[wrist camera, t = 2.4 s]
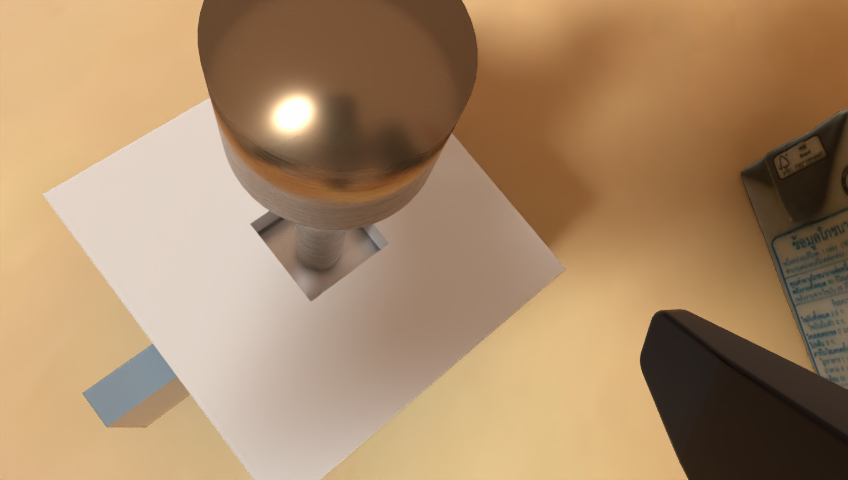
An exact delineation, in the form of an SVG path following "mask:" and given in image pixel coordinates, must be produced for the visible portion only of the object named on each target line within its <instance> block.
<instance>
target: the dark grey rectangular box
mask: <svg viewBox="0 0 848 480" xmlns="http://www.w3.org/2000/svg"><path fill="white" fill-rule="evenodd" d="M741 176H742V179H743V181H744V184H745V187H746V189H747V192H748V195H749V198H750V200H751V203H752V205H753V208H754V211H755V213H756V216H757V218H758V221H759V224H760V226H761V229H762V231H763V234H764V237H765V239H766V242H767V245H768V248H769V251H770V254H771V257H772V260H773V263H774V265H775V268H776V271H777V274H778V277H779V279H780V282H781V285H782V288H783V291H784V293H785V296H786V298H787V301H788V303H789V306H790V308H791V311H792V313H793V316H794V318H795V321H796V323H797V326H798V329H799V331H800V334H801V336H802V339H803V342H804V344H805V347H806V350H807V352H808V355H809V357H810V360H811V363H812V365H813V367H814V370H815V372H816V374H817V375H819V376H821V377H824V378H826V379H828V380H830V381H832V382H834V383H836V384H838V385H840V386H842V387H844V388H846V389H848V108H847V109H844V110H842V111H839V112H837V113H836V114H835V115H834V116H833V117H831V118H829V119H827V120H826V121H824V122H822V123H821V124H820V125H818V126H817V127H815V128H814V129H813V130H811V131H809V132H807V133H805V134H803V135H802V136H800V137H798V138H796V139H794V140H791V141H789V142H787V143H785V144H783V145H781V146H779V147H777V148H776V149H774V150H772V151H770V152H769V153H767V154H766V155H765V156H764V157H763V158H762V159H760V160H758V161H756V162H755V163H753V164H751V165H749V166H748V167H746V168H745V169H744V170H743V171H742V172H741Z"/></svg>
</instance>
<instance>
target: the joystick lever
mask: <svg viewBox="0 0 848 480" xmlns="http://www.w3.org/2000/svg"><path fill="white" fill-rule="evenodd" d="M198 49H199V55H200V61H201V65H202V69H203V73H204V77H205V80H206V84H207V88H208V92H209V95H210V99H211V103H212V107H213V110H214V114H215V118H216V122H217V125H218V129H219V133H220V137H221V140H222V144H223V148H224V151H225V154H226V157H227V160H228V163H229V165H230V167H231V169H232V171H233V173H234V175H235V176H236V178H237V179H238V181H239V182H240V184H241V185H242V187H243V188H244V189H245V190H246V191H247V192H248V193H249V194H250V195H251V197H253V198H254V199H255V200H256V201H257V202H258V203H260V204H261V205H262V206H263V207H265V208H266V209H268V210H269V211H271V212H272V213H274V214H275V215H277V216H279V217H280V218H278V219H277V220H275V221H274V222H272V223H271V224H269V225H268V226H267V227H265V228H264V229H262V230H261V231H259V232H258V235H259V236H260V237H261V238H262V240H263V241H264V242H265V244H266V245H267V246H268V247H269V249H270V250H271V251H272V253H273V254H274V255H275V256H276V258H277V259H278V260H279V262H280V263H281V264H282V265H283V267H284V268H285V269H286V270H287V272H288V273H289V274H290V276H291V277H292V278H293V279H294V281H295V282H296V283H297V285H298V286H299V287H300V288H301V290H302V291H303V292H304V294H305V295H306V296H307V297H308V299H309V300H310V301H312V300H314V299H315V298H316V297H318V296H319V295H321V294H322V293H323V292H325V291H326V290H327V289H329V288H330V287H331V286H333V285H334V284H335V283H337V282H338V281H339V280H341V279H342V278H343V277H345V276H346V275H347V274H349V273H350V272H352V271H353V270H354V269H356V268H357V267H358V266H360V265H361V264H362V263H364V262H365V261H366V260H368V259H369V258H370V257H372V256H373V255H374V254H376V253H377V252H378V251H380V248H379V247H378V246H377V245H376V243H375V242H374V241H373V240H372V238H371V237H370V236H369V235H368V233H367V232H366V231H365V230H364V228H363V227H365V226H368V225H371V224H374V223H377V222H379V221H381V220H384V219H386V218H388V217H390V216H391V215H393V214H395V213H396V212H398V211H399V210H401V209H402V208H403V207H404V206H406V205H407V204H408V203H409V202H410V201H411V200H412V199H413V198H414V197H415V196H416V195H417V194H418V193H419V191H420V190H421V188H422V187H423V185H424V184H425V183H426V181H427V179H428V177H429V175H430V173H431V171H432V170H433V168H434V166H435V164H436V162H437V160H438V158H439V156H440V154H441V152H442V150H443V148H444V146H445V145H446V143H447V141H448V139H449V137H450V135H451V133H452V131H453V129H454V127H455V125H456V123H457V121H458V120H459V118H460V116H461V114H462V112H463V110H464V108H465V106H466V104H467V102H468V100H469V98H470V95H471V92H472V89H473V86H474V83H475V78H476V72H477V44H476V37H475V32H474V29H473V25H472V22H471V19H470V17H469V14H468V12H467V10H466V7H465V5H464V4H463V2H462V0H204V2H203V5H202V9H201V12H200V17H199V24H198Z"/></svg>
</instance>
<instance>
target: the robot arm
mask: <svg viewBox="0 0 848 480" xmlns="http://www.w3.org/2000/svg"><path fill="white" fill-rule="evenodd" d="M640 365H641V370H642V373H643V375H644V378H645V380H646V383H647V385H648V388H649V390H650V393H651V395H652V397H653V400H654V402H655V405H656V407H657V410H658V412H659V414H660V417H661V419H662V422H663V424H664V427H665V429H666V432H667V434H668V436H669V439H670V441H671V444H672V446H673V448H674V451H675V453H676V455H677V457H678V460H679V462H680V464H681V466H682V468H683V470H684V472H685V474H686V476H687V478H688V480H848V389H846V388H844V387H842V386H840V385H838V384H836V383H834V382H832V381H830V380H828V379H826V378H824V377H821V376H819V375H817V374H815V373H813V372H811V371H809V370H807V369H805V368H803V367H801V366H799V365H797V364H795V363H793V362H791V361H789V360H787V359H785V358H783V357H781V356H779V355H777V354H775V353H772V352H770V351H768V350H766V349H764V348H762V347H760V346H758V345H756V344H754V343H752V342H750V341H748V340H746V339H744V338H742V337H740V336H738V335H736V334H734V333H732V332H730V331H728V330H726V329H724V328H721V327H719V326H717V325H715V324H713V323H711V322H709V321H707V320H705V319H703V318H701V317H699V316H697V315H695V314H693V313H691V312H689V311H686V310H682V309H677V310H660V311H658V312H656V313H655V314H654V316H653V317H652V320H651V323H650V326H649V329H648V332H647V335H646V338H645V342H644V345H643V348H642V351H641V355H640Z"/></svg>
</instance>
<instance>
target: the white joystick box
mask: <svg viewBox="0 0 848 480" xmlns="http://www.w3.org/2000/svg"><path fill="white" fill-rule="evenodd" d="M43 196H44V197H45V198H46V200H47V201H48V202H49V204H50V205H51V207H52V208H53V209H54V211H55V212H56V213H57V215H58V216H59V217H60V219H61V220H62V221H63V223H64V224H65V225H66V227H67V228H68V229H69V231H70V232H71V234H72V235H73V236H74V238H75V239H76V240H77V242H78V243H79V244H80V246H81V247H82V248H83V250H84V251H85V252H86V254H87V255H88V257H89V258H90V259H91V261H92V262H93V263H94V265H95V266H96V267H97V269H98V270H99V271H100V273H101V274H102V275H103V277H104V278H105V279H106V281H107V282H108V284H109V285H110V286H111V288H112V289H113V290H114V292H115V293H116V294H117V296H118V297H119V298H120V300H121V301H122V302H123V304H124V305H125V307H126V308H127V309H128V311H129V312H130V313H131V315H132V316H133V317H134V319H135V320H136V321H137V323H138V324H139V325H140V327H141V328H142V329H143V331H144V332H145V334H146V335H147V336H148V338H149V339H150V340H151V342H152V343H153V344H152V345H151V346H149V347H148V348H146V349H145V350H143V351H142V352H140V353H139V354H138V355H136V356H135V357H133V358H132V359H130V360H129V361H128V362H126V363H125V364H123V365H122V366H120V367H119V368H118V369H116V370H115V371H113V372H112V373H110V374H109V375H108V376H106V377H105V378H103V379H102V380H100V381H99V382H98V383H96V384H95V385H93V386H92V387H90V388H89V389H88V390H86V391H85V392H83V393H82V394H83V395H84V396H85V398H86V399H87V401H88V402H89V403H90V405H91V406H92V408H93V409H94V410H95V412H96V413H97V415H98V416H99V417H100V419H101V420H102V421H103V423H104V424H105V426H106V427H142V428H146V427H147V426H148V425H150V424H151V423H152V422H154V421H155V420H156V419H158V418H159V417H161V416H162V415H163V414H165V413H166V412H167V411H169V410H170V409H171V408H173V407H174V406H175V405H177V404H178V403H179V402H181V401H182V400H183V399H185V398H186V397H187V396H189V395H190V394H191V396H192V397H193V398H194V400H195V401H196V402H197V404H198V405H199V406H200V408H201V409H202V411H203V412H204V413H205V415H206V416H207V417H208V419H209V420H210V421H211V423H212V424H213V425H214V427H215V428H216V429H217V431H218V432H219V433H220V435H221V436H222V438H223V439H224V440H225V442H226V443H227V444H228V446H229V447H230V448H231V450H232V451H233V452H234V454H235V455H236V456H237V458H238V459H239V461H240V462H241V463H242V465H243V466H244V467H245V469H246V470H247V471H248V473H249V474H250V475H251V477H252V478H253V479H254V480H321V479H322V478H323V477H324V476H325V475H326V474H328V473H329V472H330V471H331V470H332V469H333V468H335V467H336V466H337V465H338V464H339V463H340V462H342V461H343V460H344V459H345V458H346V457H347V456H348V455H350V454H351V453H352V452H353V451H354V450H355V449H357V448H358V447H359V446H360V445H361V444H362V443H364V442H365V441H366V440H367V439H368V438H369V437H371V436H372V435H373V434H374V433H375V432H376V431H378V430H379V429H380V428H381V427H382V426H383V425H385V424H386V423H387V422H388V421H389V420H390V419H392V418H393V417H394V416H395V415H396V414H397V413H399V412H400V411H401V410H402V409H403V408H404V407H406V406H407V405H408V404H409V403H410V402H411V401H413V400H414V399H415V398H416V397H417V396H418V395H420V394H421V393H422V392H423V391H424V390H425V389H427V388H428V387H429V386H430V385H431V384H432V383H433V382H435V381H436V380H437V379H438V378H439V377H440V376H442V375H443V374H444V373H445V372H446V371H447V370H449V369H450V368H451V367H452V366H453V365H454V364H456V363H457V362H458V361H459V360H460V359H461V358H463V357H464V356H465V355H466V354H467V353H468V352H470V351H471V350H472V349H473V348H474V347H475V346H477V345H478V344H479V343H480V342H481V341H482V340H484V339H485V338H486V337H487V336H488V335H489V334H491V333H492V332H493V331H494V330H495V329H496V328H498V327H499V326H500V325H501V324H502V323H503V322H505V321H506V320H507V319H508V318H509V317H510V316H512V315H513V314H514V313H515V312H516V311H517V310H518V309H520V308H521V307H522V306H523V305H524V304H525V303H527V302H528V301H529V300H530V299H531V298H532V297H534V296H535V295H536V294H537V293H538V292H539V291H541V290H542V289H543V288H544V287H545V286H546V285H548V284H549V283H550V282H551V281H552V280H553V279H555V278H556V277H557V276H558V275H559V274H560V273H562V272H563V271H564V270H565V269H566V268H565V267H564V266H563V264H562V263H561V262H560V261H559V260H558V258H557V257H556V256H555V255H554V254H553V253H552V251H551V250H550V249H549V248H548V247H547V245H546V244H545V243H544V242H543V241H542V239H541V238H540V237H539V236H538V235H537V233H536V232H535V231H534V230H533V229H532V228H531V226H530V225H529V224H528V223H527V222H526V220H525V219H524V218H523V217H522V216H521V214H520V213H519V212H518V211H517V210H516V208H515V207H514V206H513V205H512V204H511V203H510V201H509V200H508V199H507V198H506V197H505V195H504V194H503V193H502V192H501V191H500V189H499V188H498V187H497V186H496V185H495V183H494V182H493V181H492V180H491V179H490V178H489V176H488V175H487V174H486V173H485V172H484V170H483V169H482V168H481V167H480V166H479V164H478V163H477V162H476V161H475V160H474V158H473V157H472V156H471V155H470V154H469V153H468V151H467V150H466V149H465V148H464V147H463V145H462V144H461V143H460V142H459V141H458V139H457V138H456V137H455V136H454V135H453V133H451V135H450V137H449V139H448V141H447V143H446V145H445V146H444V148H443V150H442V152H441V154H440V156H439V158H438V160H437V162H436V164H435V166H434V168H433V170H432V171H431V173H430V175H429V177H428V179H427V181H426V183H425V184H424V185H423V187H422V188H421V190H420V191H419V193H418V194H417V195H416V196H415V197H414V198H413V199H412V200H411V201H410V202H409V203H408V204H407V205H406V206H404V207H403V208H402V209H401V210H399V211H398V212H396V213H395V214H393V215H391V216H390V217H388V218H386V219H384V220H381V221H379V222H377V223H374V224H371V225H368V226H365V227H363V228H364V230H365V231H366V232H367V233H368V235H369V236H370V237H371V238H372V240H373V241H374V242H375V243H376V245H377V246H378V247H379V248H380V251H378V252H377V253H376V254H374V255H373V256H372V257H370V258H369V259H368V260H366V261H365V262H364V263H362V264H361V265H360V266H358V267H357V268H356V269H354V270H353V271H352V272H350V273H349V274H347V275H346V276H345V277H343V278H342V279H341V280H339V281H338V282H337V283H335V284H334V285H333V286H331V287H330V288H329V289H327V290H326V291H325V292H323V293H322V294H321V295H319V296H318V297H316V298H315V299H314V300H312V301H310V300H309V299H308V297H307V296H306V295H305V294H304V292H303V291H302V290H301V288H300V287H299V286H298V285H297V283H296V282H295V281H294V279H293V278H292V277H291V276H290V274H289V273H288V272H287V270H286V269H285V268H284V267H283V265H282V264H281V263H280V262H279V260H278V259H277V258H276V256H275V255H274V254H273V253H272V251H271V250H270V249H269V247H268V246H267V245H266V244H265V242H264V241H263V240H262V238H261V237H260V236H259V235H258V232H259V231H261V230H262V229H264V228H265V227H267V226H268V225H269V224H271V223H272V222H274V221H275V220H277V219H278V218H280V217H279V216H277V215H275V214H274V213H272V212H271V211H269V210H268V209H266V208H265V207H263V206H262V205H261V204H260V203H258V202H257V201H256V200H255V199H254V198H253V197H251V195H250V194H249V193H248V192H247V191H246V190H245V189H244V188H243V187H242V185H241V184H240V182H239V181H238V179H237V178H236V176H235V175H234V173H233V171H232V169H231V167H230V165H229V163H228V160H227V157H226V154H225V151H224V148H223V144H222V140H221V137H220V133H219V129H218V125H217V122H216V118H215V114H214V110H213V107H212V103H211V99H210V98H208V99H207V100H205V101H203V102H201V103H200V104H198V105H196V106H194V107H193V108H191V109H189V110H188V111H186V112H184V113H182V114H181V115H179V116H177V117H175V118H174V119H172V120H170V121H169V122H167V123H165V124H163V125H162V126H160V127H158V128H156V129H155V130H153V131H151V132H149V133H148V134H146V135H144V136H143V137H141V138H139V139H137V140H136V141H134V142H132V143H130V144H129V145H127V146H125V147H124V148H122V149H120V150H118V151H117V152H115V153H113V154H111V155H110V156H108V157H106V158H105V159H103V160H101V161H99V162H98V163H96V164H94V165H92V166H91V167H89V168H87V169H85V170H84V171H82V172H80V173H79V174H77V175H75V176H73V177H72V178H70V179H68V180H66V181H65V182H63V183H61V184H60V185H58V186H56V187H54V188H53V189H51V190H49V191H47V192H46V193H44V194H43Z"/></svg>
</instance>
